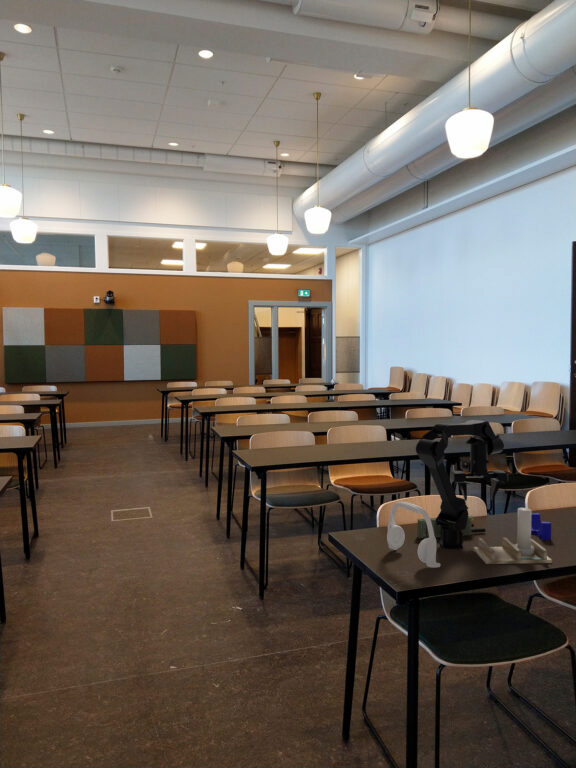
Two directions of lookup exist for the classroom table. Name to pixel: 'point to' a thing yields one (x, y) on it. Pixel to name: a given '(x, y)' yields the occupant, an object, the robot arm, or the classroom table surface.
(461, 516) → the robot arm
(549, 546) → the classroom table surface
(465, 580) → the classroom table surface
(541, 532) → the blue curved cradle
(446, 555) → the classroom table surface
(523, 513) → the white bulb knob
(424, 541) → the headset
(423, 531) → the handheld radio
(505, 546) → the slot rack
